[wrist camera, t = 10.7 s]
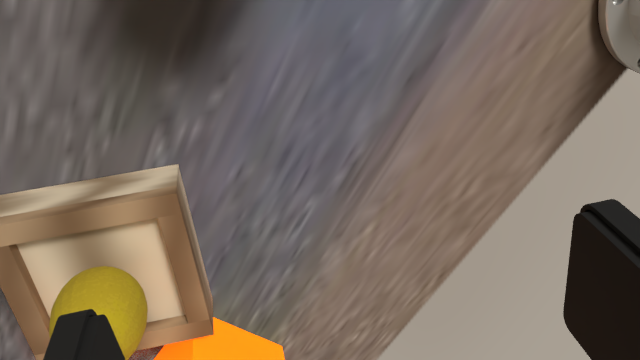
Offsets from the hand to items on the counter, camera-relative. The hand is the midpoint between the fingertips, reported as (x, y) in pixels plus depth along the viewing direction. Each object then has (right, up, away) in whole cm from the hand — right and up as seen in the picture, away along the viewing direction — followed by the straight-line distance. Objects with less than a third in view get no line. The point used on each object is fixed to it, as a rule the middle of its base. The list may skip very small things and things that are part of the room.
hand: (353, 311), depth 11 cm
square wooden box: (-16, -3, +29) cm, 33 cm away
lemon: (-15, -4, +27) cm, 31 cm away
